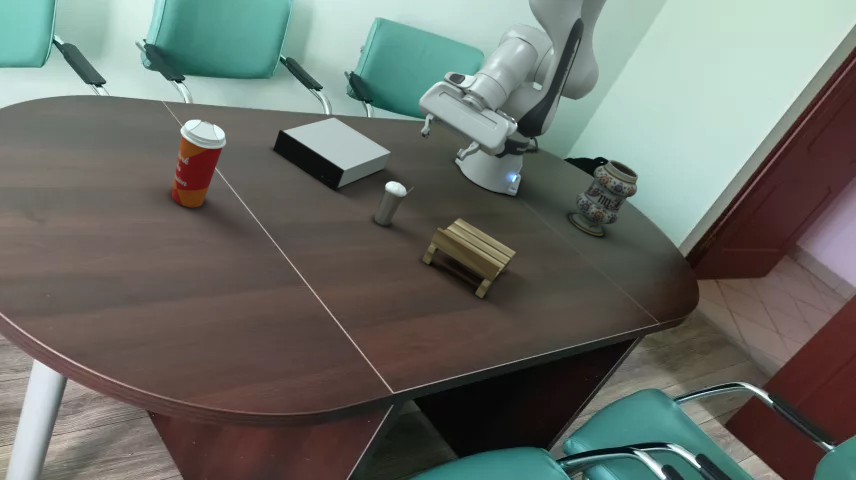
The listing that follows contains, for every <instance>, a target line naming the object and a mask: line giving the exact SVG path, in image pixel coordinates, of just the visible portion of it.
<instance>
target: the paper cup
mask: <svg viewBox="0 0 856 480" xmlns="http://www.w3.org/2000/svg"><path fill="white" fill-rule="evenodd" d="M224 131H225V130H223V129H222V128H221V127H220V126H218V125H217V124H212V123H210V122H208V121H202V120H201V119H190V120H188V121H186V122H185V123H184V125H183V126H182V127H181V128H180V134H181V137H180V143H179V150H178V155H177V160H176V167H175V171H174V172H175V173H174V176H173V177H174V178H173V184H172V190H171V197H172V200H173V201H174V202H176V203H177V204H179V205H180V206H183V207H187V208H199V207H200V206H202V205H203V203H204V201H205V198H206V196H207V193H208V190H209V187H210V186H211V185H210V184H211V182H212V178H213V176H214V173H215V170H216V167H217V164H218V161H219V158H220V156H221V153H222V150H223V147H225V146H226V144H227V139H226V134H225V132H224Z"/></svg>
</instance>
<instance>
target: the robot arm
mask: <svg viewBox="0 0 856 480" xmlns="http://www.w3.org/2000/svg"><path fill="white" fill-rule="evenodd" d="M606 3H607V0H528V6H529V8H530V11H531V13H532V16H533V17H534V19H535V20H536V22H538V24H539V25H540V26H541V28H542V29H543V30H544V31H543V30H542V29H540V28H538V27H534V26H532V25H528V24H523V23H519V22H518V23H516V24H513V25H511V26H510V27H509V28H507V29H506V30H505V31H504V33H503V34H501V37H500V39H499V41H498V45H497V48H496V49H495V50H494V51H493V52H492V53H491V54H490V55H489V57H488V58H487V59H486V61H485V62H484V64H483V66H482V67H481V69H479V70H478V71H477V72H475V74H474V75H470V74H463V73H459V72H455V71H448V72H446V74H445V75H444V78H443V79H444V80H439V81H437V82H436V83H434V84H433V85H432V86H431V87H429V88H428V89H427V91H425V92H424V94H423V95H422V96H421V97H420V99H419V101H418V109H419V112H420V114H421V115H423V116H425V122H424V126H423V127H422V129H421V130H420V136H421V137H422V138H424V139H428V138H429V136H431V134H432V129H431V127H430V125H431V126H433V125H434V124H435V123H436V124H437V125H439V126H441V127H443V128H444V129H446V130H447V131H449V132H450V133H452V134H454V135H455V136H457V137H458V138H460V139H462V140H463V141H465V142H466V143H468V144H470V145H469V147H468V148H466V149H464V148H460V149H459V151H457V153H456V154H455V157H456V158H455V160H454V162H455V164H456V165H457V166H458V167H459V168H460V170H461V172H462V174H463V175H464V176H466V178H468V180H469V181H471V182H473V183H474V184H476V185H477V186H479V187H481V188H484V189H486V190H489V191H491V192H496V193H501V194H507V195H509V196H513V197H515V196H516V195H517V193H518V189H519V185H520V183H521V179H522V176H521V175H520V171H521V169H522V167H523V166H524V165H523V162H524V155H525V153H526V152H535V151H537V150H538V149H539V142H538V139H537V138H536V137H540V136H543V135H544V134H545V133H547V131H548V130H549V129H550V127H551V126H552V124H553V122H554V120H555V118H556V114H557V111H558V107H559V103H560V100H561V97H562V98H567V99H570V100H574V101H577V100H580V99H583V98H584V97H586V96H588V95H589V94H590V93H591V92H592V91H593V90H594V88H595V87H596V85H597V83H598V80H599V76H600V68H599V64H598V62H597V60H596V57H595V53H594V48H593V47H594V45H593V40H594V38H593V37H594V31H595V27H596V24H597V21H598V19H599V17H600V14H601V12H602V10H603V8H604V6H605V4H606ZM535 84H537V85H539V86H541V88H540V89H538V88H535V87H534V86H535ZM530 140H533V142H534V145H535V146H534V147H533V148H529V146H530V143H531V141H530Z"/></svg>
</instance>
